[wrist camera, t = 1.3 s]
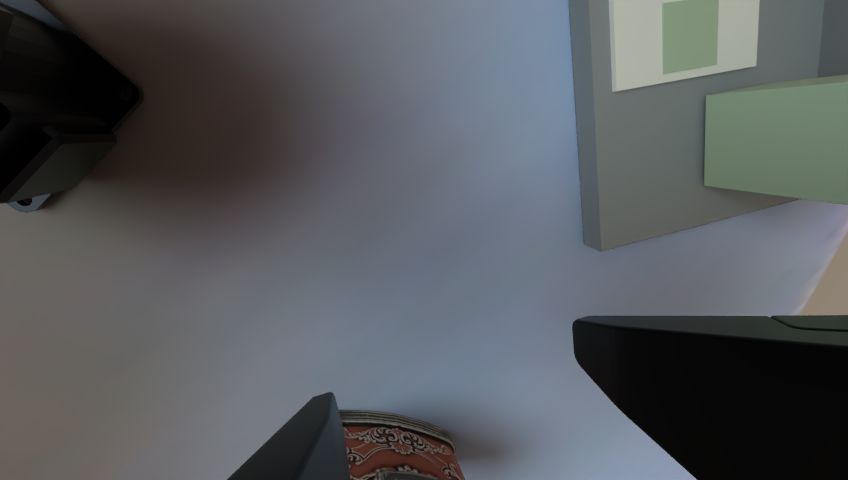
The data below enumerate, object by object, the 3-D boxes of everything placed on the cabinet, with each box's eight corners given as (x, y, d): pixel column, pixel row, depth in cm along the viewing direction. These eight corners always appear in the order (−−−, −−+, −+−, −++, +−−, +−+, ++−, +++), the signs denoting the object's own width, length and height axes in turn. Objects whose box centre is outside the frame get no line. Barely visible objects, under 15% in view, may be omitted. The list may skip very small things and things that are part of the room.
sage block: (702, 187, 22) (936, 220, 14) (704, 93, 21) (964, 67, 12) (767, 172, 23) (1024, 194, 15) (772, 80, 22) (1059, 47, 13)
